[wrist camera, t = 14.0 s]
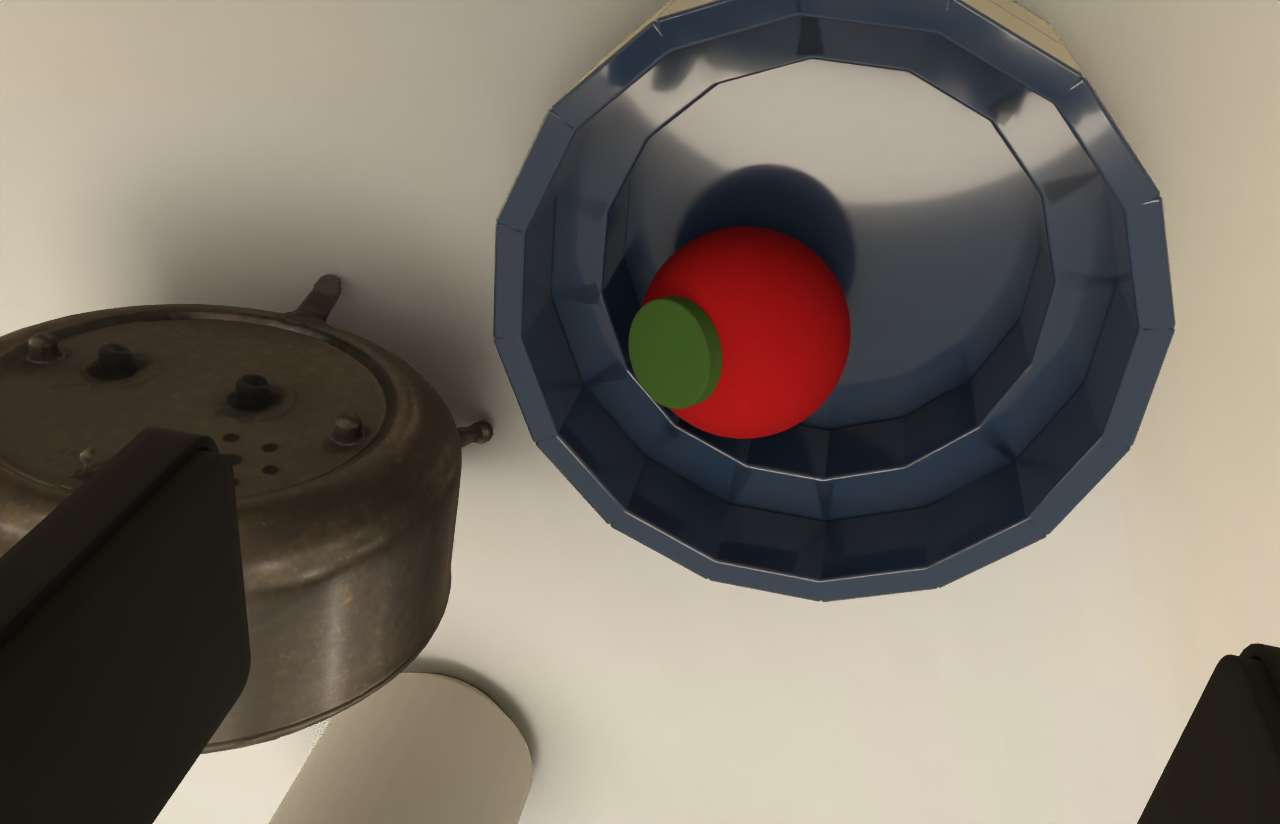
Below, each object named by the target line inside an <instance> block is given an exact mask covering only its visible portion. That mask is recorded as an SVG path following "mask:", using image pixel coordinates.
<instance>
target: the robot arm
mask: <svg viewBox="0 0 1280 824" xmlns="http://www.w3.org/2000/svg"><path fill="white" fill-rule="evenodd" d="M250 666H251V652H250V641H249V631H248V620H247V610H246V599H245V589H244V578H243V568H242V557H241V547H240V536H239V526H238V515H237V505H236V494H235V483H234V473H233V466H232V462H231V460H230V458H229V457H228V456H226V455H225V454H220V453H219V452H218V447H217V445H216V443H215V441H214V440H213V439H212V438H210V437H208V436H205V435H200V434H195V433H190V432H185V431H180V430H175V429H170V428H165V427H160V426H150V427H148V428H146V429H144V430H143V431H141V432H140V433H139V434H138V435H137V436H136V437H134V438H133V439H132V440H131V441H130V442H129V443H128V444H127V445H126V446H124V447H123V448H122V449H121V450H120V451H119V452H118V453H117V454H115V455H114V456H113V457H112V458H111V459H110V460H109V461H108V462H107V463H105V464H104V465H103V466H102V467H101V468H100V469H99V470H98V471H97V472H95V473H94V474H93V475H92V476H91V477H90V478H89V479H88V480H86V481H85V482H84V483H83V484H82V485H81V486H80V487H79V488H78V489H76V490H75V491H74V492H73V493H72V494H71V495H70V496H69V497H67V498H66V499H65V500H64V501H63V502H62V503H61V504H60V505H59V506H57V507H56V508H55V509H54V510H53V511H52V512H51V513H50V514H49V515H47V516H46V517H45V518H44V519H43V520H42V521H41V522H40V523H38V524H37V525H36V526H35V527H34V528H33V529H32V530H31V531H30V532H28V533H27V534H26V535H25V536H24V537H23V538H22V539H21V540H19V541H18V542H17V543H16V544H15V545H14V546H13V547H12V548H11V549H9V550H8V551H7V552H6V553H5V554H4V555H3V556H2V557H1V558H0V824H152V823H153V822H154V820H155V819H156V818H157V816H158V815H159V813H160V812H161V810H162V809H163V807H164V806H165V805H166V803H167V802H168V800H169V799H170V797H171V796H172V794H173V793H174V791H175V790H176V789H177V787H178V786H179V784H180V783H181V781H182V780H183V778H184V777H185V775H186V774H187V773H188V771H189V770H190V768H191V767H192V765H193V764H194V762H195V761H196V759H197V758H198V757H199V755H200V754H201V752H202V751H203V749H204V748H205V746H206V745H207V743H208V742H209V741H210V739H211V738H212V736H213V735H214V733H215V732H216V730H217V729H218V728H219V726H220V725H221V723H222V722H223V720H224V719H225V717H226V716H227V714H228V713H229V712H230V710H231V709H232V707H233V706H234V704H235V703H236V701H237V700H238V698H239V697H240V695H241V693H242V692H243V690H244V687H245V685H246V683H247V680H248V676H249V673H250ZM1137 824H1280V648H1279V647H1274V646H1269V645H1264V644H1259V643H1257V644H1250V645H1249V646H1248V647H1246V648H1245V649H1244V650H1243V651H1242V653H1241V654H1240V656H1235V655H1226V656H1224V657H1223V658H1222V659H1221V660H1220V661H1219V663H1218V664H1217V666H1216V668H1215V670H1214V672H1213V674H1212V676H1211V678H1210V680H1209V682H1208V684H1207V686H1206V688H1205V689H1204V691H1203V693H1202V695H1201V697H1200V699H1199V701H1198V703H1197V705H1196V707H1195V709H1194V711H1193V713H1192V715H1191V717H1190V719H1189V721H1188V723H1187V725H1186V727H1185V729H1184V731H1183V733H1182V735H1181V737H1180V739H1179V741H1178V743H1177V745H1176V747H1175V749H1174V751H1173V753H1172V755H1171V757H1170V759H1169V761H1168V763H1167V765H1166V767H1165V769H1164V771H1163V773H1162V775H1161V777H1160V779H1159V781H1158V783H1157V785H1156V787H1155V789H1154V791H1153V793H1152V795H1151V797H1150V799H1149V801H1148V803H1147V805H1146V807H1145V809H1144V811H1143V813H1142V815H1141V817H1140V819H1139V821H1138V823H1137Z"/></svg>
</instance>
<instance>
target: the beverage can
mask: <svg viewBox="0 0 1280 824" xmlns="http://www.w3.org/2000/svg"><path fill="white" fill-rule="evenodd" d="M531 783H532V761H531V755H530V752H529V749H528V747H527V744H526V742H525V740H524V738H523V736H522V735H521V733H520V732H519V730H518V729H517V727H516V726H515V724H514V723H513V722H512V721H511V720H510V719H509V718H508V717H507V716H506V715H505V714H504V712H503V711H502V710H501V709H500V708H499V707H498V706H497V705H496V704H495V703H494V702H493V701H492V700H491V699H490V698H489V697H488V696H487V695H485V694H484V693H482V692H481V691H479V690H478V689H476V688H475V687H473V686H471V685H469V684H467V683H465V682H463V681H460V680H457V679H455V678H452V677H448V676H444V675H439V674H432V673H400V674H398V675H397V676H396V677H395V678H394V679H393V680H391V681H390V682H389V683H387V684H386V685H385V686H383V687H382V688H380V689H379V690H377V691H376V692H374V693H372V694H371V695H370V696H368V697H367V698H365V699H364V700H362V701H360V702H359V703H357V704H355V705H353V706H352V707H350V708H348V709H346V710H344V711H342V712H340V713H338V714H336V715H334V716H333V717H332V719H331V721H330V722H329V724H328V726H327V727H326V729H325V731H324V732H323V734H322V736H321V737H320V739H319V741H318V742H317V744H316V746H315V747H314V749H313V751H312V752H311V754H310V756H309V757H308V759H307V761H306V762H305V764H304V766H303V767H302V769H301V771H300V772H299V774H298V776H297V777H296V779H295V781H294V782H293V784H292V786H291V787H290V789H289V791H288V792H287V794H286V796H285V797H284V799H283V801H282V802H281V804H280V806H279V807H278V809H277V811H276V812H275V814H274V816H273V817H272V819H271V821H270V822H269V824H518V821H519V818H520V815H521V813H522V810H523V807H524V804H525V802H526V799H527V796H528V793H529V790H530V787H531Z"/></svg>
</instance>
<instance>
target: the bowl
mask: <svg viewBox="0 0 1280 824" xmlns="http://www.w3.org/2000/svg"><path fill="white" fill-rule="evenodd" d="M496 222H497V223H496V229H495V273H494V317H493V336H494V337H495V338H494V342H495V345H496V348H497V350H498V353H499V355H500V358H501V360H502V363H503V365H504V368H505V370H506V373H507V376H508V378H509V381H510V383H511V386H512V388H513V391H514V393H515V396H516V398H517V401H518V404H519V406H520V409H521V411H522V414H523V416H524V419H525V421H526V424H527V426H528V429H529V432H530V434H531V437H532V439H533V441H534V442H536V445H537V447H538V448H539V449H540V450H541V451H542V452H543V453H544V454H545V455H546V456H547V458H548V459H549V460H550V461H551V462H552V463H553V464H554V465H555V466H556V467H557V469H558V470H559V471H560V472H561V473H562V474H563V475H564V476H565V477H566V479H567V480H568V481H569V482H570V483H571V484H572V485H573V486H574V487H575V488H576V490H577V491H578V492H579V493H580V494H581V495H582V496H583V497H584V498H585V499H586V501H587V502H588V503H589V504H590V505H591V506H592V507H593V508H594V509H595V511H596V512H597V513H598V514H599V515H600V516H601V517H602V518H603V519H604V520H605V522H606V523H607V524H610V525H611V527H613V528H614V529H616V530H618V531H620V532H622V533H623V534H625V535H627V536H629V537H631V538H632V539H634V540H636V541H638V542H640V543H642V544H643V545H645V546H647V547H649V548H651V549H652V550H654V551H656V552H658V553H660V554H662V555H663V556H665V557H667V558H669V559H671V560H672V561H674V562H676V563H678V564H680V565H681V566H683V567H685V568H687V569H689V570H691V571H692V572H694V573H696V574H698V575H700V576H701V577H703V578H705V579H708V578H709V580H711V581H715V582H720V583H725V584H730V585H736V586H741V587H746V588H751V589H756V590H761V591H767V592H772V593H777V594H782V595H787V596H792V597H798V598H803V599H808V600H813V601H821V600H822V602H829V601H837V600H845V599H854V598H862V597H871V596H879V595H887V594H896V593H904V592H913V591H921V590H929V589H936V588H938V587H939V588H941V587H943V586H945V585H947V584H949V583H951V582H953V581H955V580H958V579H960V578H962V577H964V576H966V575H968V574H970V573H972V572H974V571H976V570H978V569H981V568H983V567H985V566H987V565H989V564H991V563H993V562H995V561H997V560H999V559H1001V558H1004V557H1006V556H1008V555H1010V554H1012V553H1014V552H1016V551H1018V550H1020V549H1022V548H1024V547H1027V546H1029V545H1031V544H1033V543H1035V542H1037V541H1039V540H1041V539H1043V538H1045V537H1046V535H1048V534H1050V533H1051V532H1052V531H1053V529H1054V528H1055V527H1056V526H1057V525H1058V524H1059V523H1060V522H1061V521H1062V520H1063V519H1064V518H1065V517H1066V516H1067V515H1068V514H1069V513H1070V512H1071V511H1072V510H1073V509H1074V507H1075V506H1076V505H1077V504H1078V503H1079V502H1080V501H1081V500H1082V499H1083V498H1084V497H1085V496H1086V495H1087V494H1088V493H1089V492H1090V491H1091V490H1092V489H1093V488H1094V486H1095V485H1096V484H1097V483H1098V482H1099V481H1100V480H1101V479H1102V478H1103V477H1104V476H1105V475H1106V474H1107V473H1108V472H1109V471H1110V470H1111V469H1112V468H1113V467H1114V466H1115V464H1116V463H1117V462H1118V461H1119V460H1120V459H1121V458H1122V457H1123V456H1124V455H1125V454H1126V453H1127V452H1128V451H1129V450H1130V447H1131V446H1132V445H1133V444H1134V441H1135V438H1136V435H1137V433H1138V430H1139V427H1140V425H1141V422H1142V419H1143V416H1144V414H1145V411H1146V408H1147V405H1148V403H1149V400H1150V397H1151V394H1152V392H1153V389H1154V386H1155V383H1156V381H1157V378H1158V375H1159V372H1160V370H1161V367H1162V364H1163V361H1164V359H1165V356H1166V353H1167V351H1168V348H1169V345H1170V342H1171V340H1172V337H1173V334H1174V331H1175V330H1174V327H1175V314H1174V305H1173V295H1172V286H1171V276H1170V267H1169V257H1168V248H1167V239H1166V229H1165V220H1164V210H1163V201H1162V198H1161V196H1160V191H1159V190H1158V188H1157V187H1156V185H1155V184H1154V182H1153V180H1152V179H1151V177H1150V176H1149V174H1148V173H1147V171H1146V170H1145V168H1144V167H1143V165H1142V163H1141V162H1140V160H1139V159H1138V157H1137V156H1136V154H1135V153H1134V151H1133V149H1132V148H1131V146H1130V145H1129V143H1128V142H1127V140H1126V139H1125V137H1124V136H1123V134H1122V132H1121V131H1120V129H1119V128H1118V126H1117V125H1116V123H1115V122H1114V120H1113V119H1112V117H1111V115H1110V114H1109V112H1108V111H1107V109H1106V108H1105V106H1104V105H1103V103H1102V102H1101V100H1100V98H1099V97H1098V95H1097V94H1096V92H1095V91H1094V89H1093V88H1092V86H1091V85H1090V83H1089V81H1088V80H1087V78H1086V77H1085V75H1084V74H1083V72H1082V71H1081V69H1080V68H1079V66H1078V65H1077V63H1076V62H1075V60H1074V59H1073V57H1072V55H1071V54H1070V52H1069V51H1068V49H1067V48H1066V46H1065V45H1064V43H1063V42H1062V40H1061V39H1060V37H1059V36H1058V34H1057V33H1056V31H1055V30H1054V28H1052V27H1051V26H1050V25H1049V23H1048V22H1046V21H1044V20H1043V19H1041V18H1039V17H1038V16H1036V15H1035V14H1033V13H1031V12H1030V11H1028V10H1026V9H1025V8H1023V7H1021V6H1020V5H1018V4H1017V3H1015V2H1013V1H1012V0H670V1H669V2H668V3H667V4H665V5H664V6H663V7H662V8H661V9H660V10H658V11H657V12H656V13H655V14H654V15H652V16H651V17H650V18H649V19H648V20H647V21H645V22H644V23H643V24H642V25H641V26H640V27H638V28H637V29H636V30H635V31H634V32H633V33H631V34H630V35H629V36H628V37H627V38H625V39H624V40H623V41H622V42H621V43H620V44H618V45H617V46H616V47H615V48H614V49H613V50H611V51H610V52H609V53H608V54H607V55H606V56H605V57H603V58H602V59H601V60H600V61H599V62H598V63H597V64H596V65H595V66H594V67H593V68H592V69H591V70H590V71H588V72H587V73H586V74H585V75H584V76H583V77H582V78H581V79H580V80H579V81H578V82H577V83H576V84H575V85H573V86H572V87H571V88H570V89H569V90H568V91H567V92H566V93H565V94H564V95H563V96H562V97H561V98H560V99H558V100H557V101H556V102H555V103H554V104H553V105H552V107H551V108H550V109H549V110H548V111H547V113H546V115H545V118H544V120H543V122H542V124H541V126H540V128H539V130H538V132H537V134H536V137H535V139H534V141H533V143H532V145H531V147H530V149H529V151H528V153H527V156H526V158H525V160H524V162H523V164H522V166H521V168H520V170H519V172H518V175H517V177H516V179H515V181H514V183H513V185H512V187H511V189H510V191H509V193H508V196H507V198H506V200H505V202H504V204H503V206H502V208H501V210H500V212H499V215H498V217H497V219H496ZM739 226H752V227H760V228H768V229H771V230H775V231H778V232H781V233H784V234H786V235H788V236H791V237H793V238H795V239H797V240H798V241H800V242H801V243H803V244H804V245H806V246H807V247H809V248H810V249H812V250H813V251H814V252H815V253H816V254H817V255H818V256H820V258H821V259H822V260H823V261H824V262H825V263H826V264H827V266H828V267H829V268H830V270H831V271H832V273H833V274H834V276H835V277H836V279H837V281H838V282H839V284H840V286H841V288H842V291H843V293H844V296H845V298H846V302H847V305H848V310H849V315H850V325H851V337H850V348H849V354H848V358H847V362H846V365H845V368H844V370H843V372H842V375H841V377H840V379H839V381H838V383H837V385H836V387H835V388H834V390H833V392H832V393H831V394H830V395H829V397H828V398H827V399H826V400H825V402H824V403H823V404H822V405H821V406H820V407H819V408H818V409H817V410H816V411H815V412H814V413H812V414H811V415H810V416H809V417H808V418H806V419H805V420H803V421H802V422H800V423H799V424H797V425H795V426H793V427H791V428H789V429H787V430H785V431H782V432H780V433H777V434H773V435H770V436H765V437H760V438H749V439H737V438H729V437H722V436H718V435H714V434H711V433H708V432H705V431H702V430H700V429H698V428H696V427H694V426H692V425H691V424H689V423H687V422H686V421H684V420H683V419H681V418H680V417H679V416H677V415H676V414H675V413H674V412H672V410H671V409H670V408H668V407H665V406H663V405H660V404H659V403H657V402H656V401H654V400H653V399H652V398H651V397H650V396H649V395H648V394H647V393H646V392H645V391H644V389H643V388H642V387H641V385H640V383H639V382H638V380H637V378H636V376H635V373H634V371H633V368H632V365H631V361H630V356H629V332H630V328H631V324H632V321H633V319H634V317H635V315H636V314H637V312H638V311H639V310H640V309H641V305H642V302H643V299H644V296H645V294H646V291H647V289H648V287H649V285H650V283H651V281H652V279H653V278H654V276H655V274H656V273H657V271H658V270H659V269H660V268H661V267H662V265H663V264H664V263H665V262H666V261H667V259H668V258H669V257H670V256H671V255H673V254H674V253H675V252H676V251H677V250H678V249H680V248H681V247H682V246H684V245H685V244H687V243H688V242H690V241H691V240H693V239H695V238H697V237H699V236H701V235H704V234H706V233H709V232H712V231H715V230H719V229H723V228H728V227H739Z"/></svg>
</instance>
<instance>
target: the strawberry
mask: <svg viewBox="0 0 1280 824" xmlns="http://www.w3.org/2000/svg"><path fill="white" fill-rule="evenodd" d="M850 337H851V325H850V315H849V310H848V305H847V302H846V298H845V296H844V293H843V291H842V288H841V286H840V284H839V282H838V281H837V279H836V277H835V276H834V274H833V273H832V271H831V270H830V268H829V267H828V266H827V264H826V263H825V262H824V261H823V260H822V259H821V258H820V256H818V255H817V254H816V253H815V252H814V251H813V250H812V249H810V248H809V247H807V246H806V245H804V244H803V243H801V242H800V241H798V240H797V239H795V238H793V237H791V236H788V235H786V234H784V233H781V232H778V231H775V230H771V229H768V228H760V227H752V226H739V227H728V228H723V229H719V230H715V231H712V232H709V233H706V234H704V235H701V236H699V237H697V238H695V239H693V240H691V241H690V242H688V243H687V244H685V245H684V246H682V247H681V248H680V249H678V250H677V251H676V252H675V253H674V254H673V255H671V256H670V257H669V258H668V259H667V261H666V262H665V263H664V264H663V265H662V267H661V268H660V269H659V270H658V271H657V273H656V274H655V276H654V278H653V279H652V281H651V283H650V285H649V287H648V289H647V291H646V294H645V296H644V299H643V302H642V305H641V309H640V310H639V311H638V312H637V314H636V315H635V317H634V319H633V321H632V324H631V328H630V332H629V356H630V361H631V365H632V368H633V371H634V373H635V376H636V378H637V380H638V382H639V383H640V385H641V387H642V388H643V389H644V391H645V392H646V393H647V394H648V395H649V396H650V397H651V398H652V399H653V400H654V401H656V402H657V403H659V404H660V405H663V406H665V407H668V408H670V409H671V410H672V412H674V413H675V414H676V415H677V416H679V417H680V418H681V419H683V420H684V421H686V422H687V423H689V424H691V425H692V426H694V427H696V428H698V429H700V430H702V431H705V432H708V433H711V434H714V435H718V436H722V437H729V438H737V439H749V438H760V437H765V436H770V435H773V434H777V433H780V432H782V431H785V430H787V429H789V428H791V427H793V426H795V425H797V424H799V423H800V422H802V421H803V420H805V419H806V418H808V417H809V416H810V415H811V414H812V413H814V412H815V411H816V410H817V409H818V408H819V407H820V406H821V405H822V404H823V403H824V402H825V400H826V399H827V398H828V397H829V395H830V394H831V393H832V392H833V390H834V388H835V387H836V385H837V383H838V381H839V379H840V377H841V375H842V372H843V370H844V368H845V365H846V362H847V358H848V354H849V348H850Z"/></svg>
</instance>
